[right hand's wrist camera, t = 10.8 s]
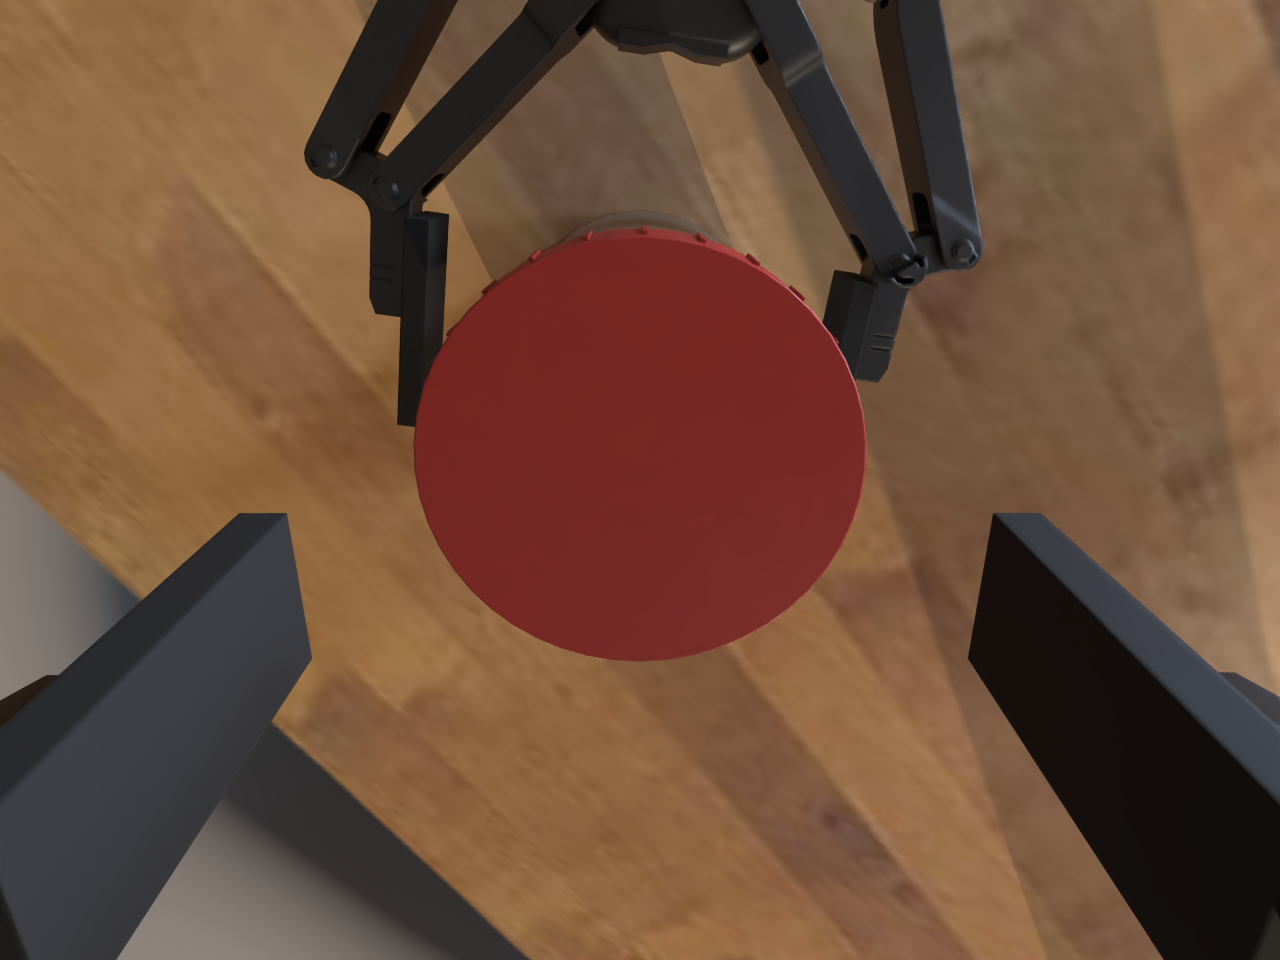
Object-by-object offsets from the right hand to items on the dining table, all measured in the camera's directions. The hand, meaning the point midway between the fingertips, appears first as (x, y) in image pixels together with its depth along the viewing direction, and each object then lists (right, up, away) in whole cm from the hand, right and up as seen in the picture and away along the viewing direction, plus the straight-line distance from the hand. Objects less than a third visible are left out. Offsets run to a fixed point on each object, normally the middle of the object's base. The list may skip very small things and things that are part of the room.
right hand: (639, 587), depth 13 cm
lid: (0, +2, +5) cm, 6 cm away
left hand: (-1, +3, +15) cm, 15 cm away
